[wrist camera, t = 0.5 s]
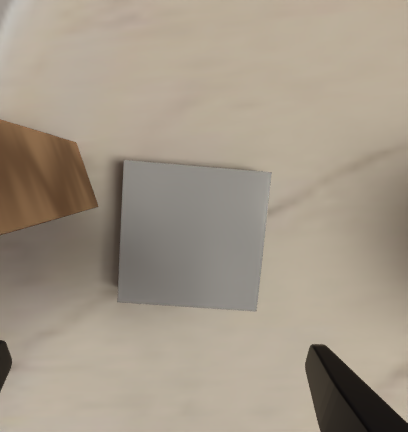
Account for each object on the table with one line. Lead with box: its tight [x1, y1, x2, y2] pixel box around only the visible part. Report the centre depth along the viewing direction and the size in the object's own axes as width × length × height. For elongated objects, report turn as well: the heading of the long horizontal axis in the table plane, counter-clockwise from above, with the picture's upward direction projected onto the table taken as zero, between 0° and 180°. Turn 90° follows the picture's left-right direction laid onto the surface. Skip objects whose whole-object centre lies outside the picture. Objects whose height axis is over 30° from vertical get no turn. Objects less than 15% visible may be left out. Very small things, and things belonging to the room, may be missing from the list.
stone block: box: [117, 160, 272, 311], centre depth 21 cm, size 10×10×3 cm
